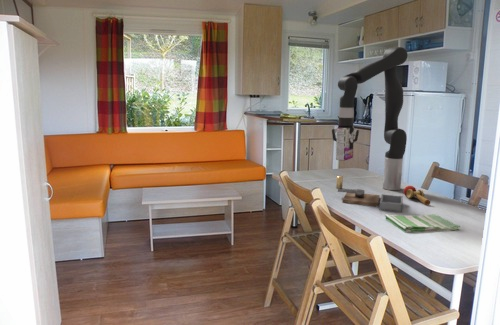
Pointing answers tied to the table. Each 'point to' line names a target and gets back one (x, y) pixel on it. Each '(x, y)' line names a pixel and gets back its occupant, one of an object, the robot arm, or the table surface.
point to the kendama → (415, 194)
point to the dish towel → (421, 223)
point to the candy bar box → (343, 144)
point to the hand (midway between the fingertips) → (344, 149)
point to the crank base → (362, 199)
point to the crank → (339, 186)
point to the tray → (391, 203)
